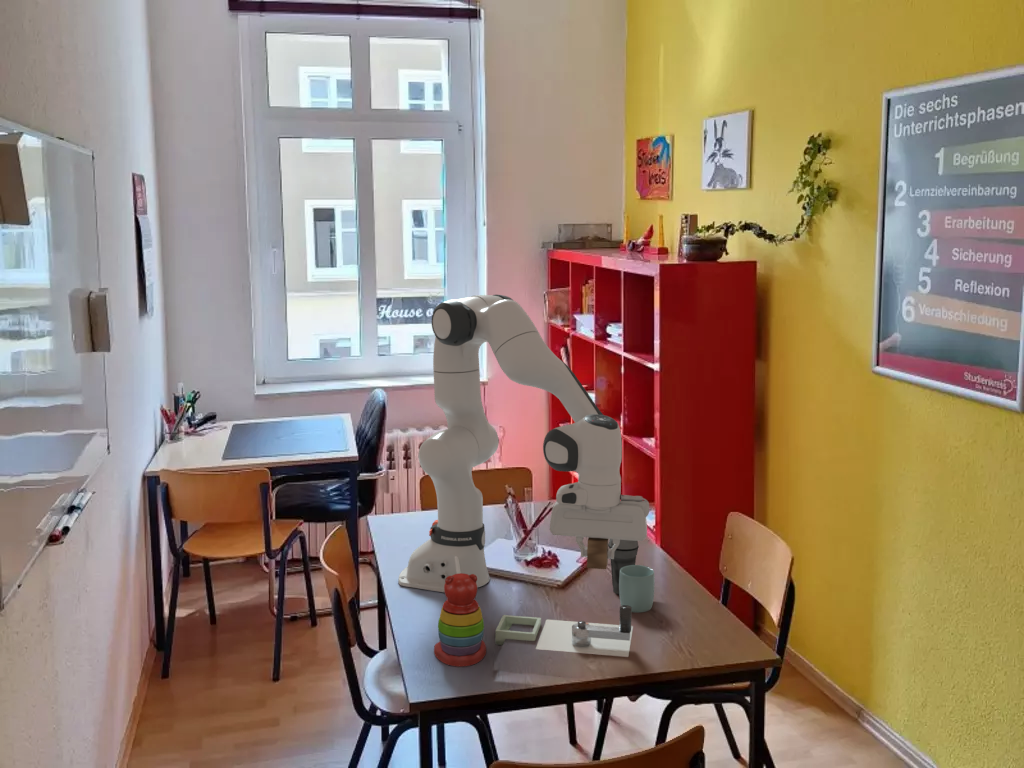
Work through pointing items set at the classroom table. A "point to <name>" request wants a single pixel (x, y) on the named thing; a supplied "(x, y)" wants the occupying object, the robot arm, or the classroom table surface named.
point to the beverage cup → (622, 559)
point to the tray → (504, 633)
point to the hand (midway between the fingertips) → (597, 557)
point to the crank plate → (560, 639)
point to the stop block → (597, 553)
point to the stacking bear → (460, 623)
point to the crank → (603, 629)
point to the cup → (637, 587)
